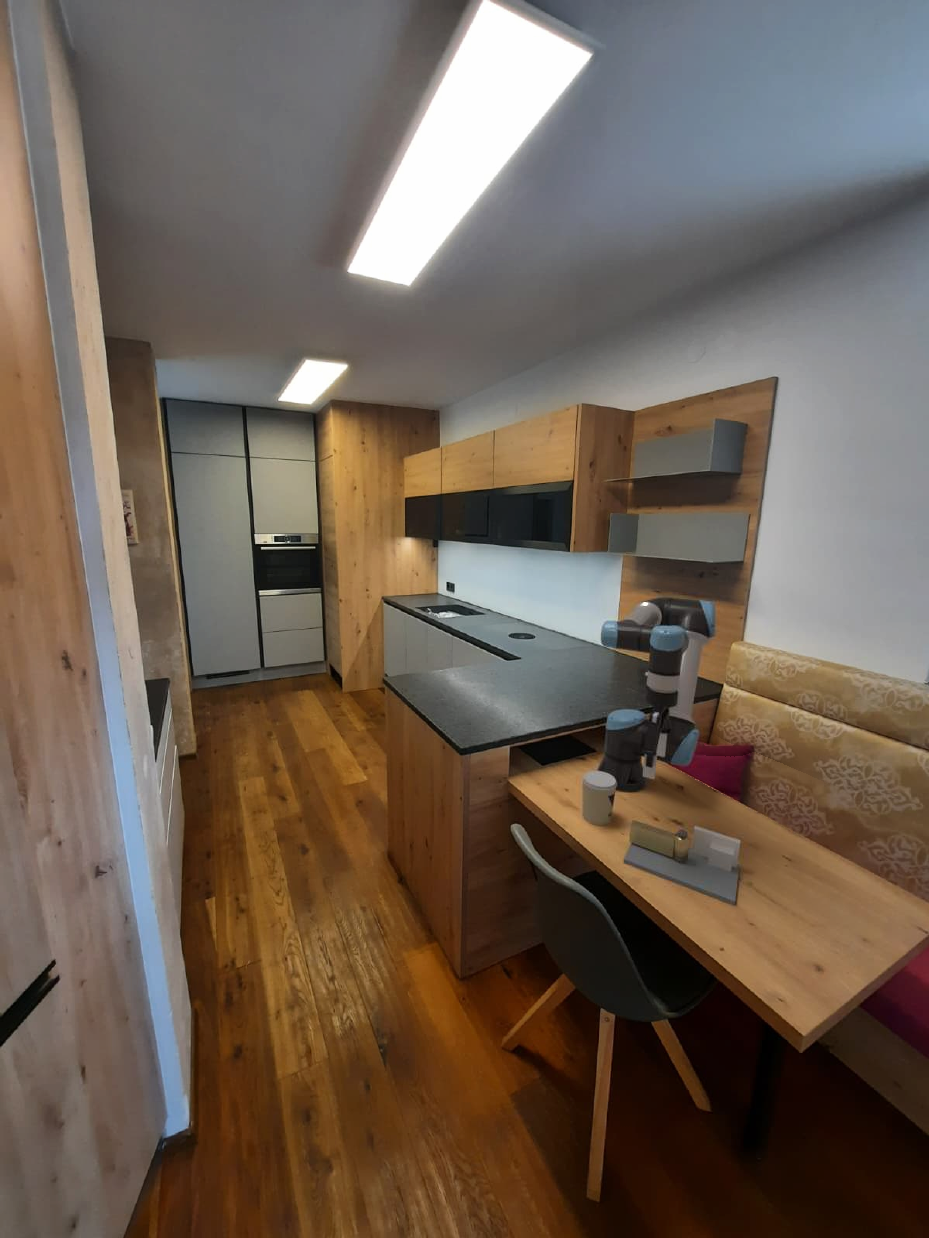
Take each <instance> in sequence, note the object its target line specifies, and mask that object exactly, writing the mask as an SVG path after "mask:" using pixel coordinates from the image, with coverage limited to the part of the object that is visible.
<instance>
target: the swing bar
mask: <svg viewBox="0 0 929 1238" xmlns="http://www.w3.org/2000/svg"><path fill="white" fill-rule="evenodd" d="M691 841H692V840H691V837H690V836H689V835H688V834H687V838H681V837H679V835H678V832H671V831H668V830H665V829H663V828H659V827H656V826H653V825H650V824H648V823H644V822H641V821H638V820H636V819H632V821H631V823H630V828H629V839H628V842H629V843H630V844H631V843H634V844H637V845H639V846H642V847H645V848H648V849H651V850H653V851H656V852H659V853H662V854H664V855H667V856H670V857H673V858H674V859H675V860H677V861H680V862H686V861H688V855H689V848H691Z"/></svg>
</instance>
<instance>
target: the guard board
mask: <svg viewBox="0 0 929 1238" xmlns="http://www.w3.org/2000/svg"><path fill="white" fill-rule="evenodd" d="M677 833H678V835H679V837H681V838H687V835H688V831H687V830H686V829H682V828H681V829H678V832H677ZM691 843H692V846H691V847H690V848H689V855H688V861H686V862H680V861H677V860H675V859H674V858H673V857H670V856H667V855H664V854H662V853H659V852H656V851H653V850H651V849H648V848H645V847H642V846H639V845H637V844H634V843H631V842H630V845H629V847H628V850H627V851H626V853H625V856H624V858H623V863H624V864H626V865H628V866H631V867H634V868H637V869H639V870H642V871H644V872H647V873H650V874H652V875H655V876H657V877H659V878H662V879H664V880H667V881H670V882H673V883H675V884H677V885H681V886H683V887H686V888H688V889H692V890H694V891H696V892H698V893H701V894H704V895H706V896H709V897H711V898H714V899H717V900H719V901H721V902H725V903H727V904H730V905H732V906H735V904H736V898H737V897H736V896H737V889H738V888H737V887H738V881H739V880H738V879H739V871H740V864H739V863H738V861H739V855H740V854H739V853H740V848H741V839H738V838H735V837H731V836H728V835H725V834H722V833H720V832H716V831H713V830H709V829H707V828H703V827H700V826H698V825H694V829H693V836H692V842H691Z"/></svg>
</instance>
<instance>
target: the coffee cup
mask: <svg viewBox="0 0 929 1238" xmlns="http://www.w3.org/2000/svg"><path fill="white" fill-rule="evenodd" d="M581 781H582V817H583V819H584V820H585V821H586V822H588V823H590V824H592V825H595V826H596V825H597V826H605V825H608V824H610V822H611V820H612V813H613V808H614V802H615V796H616V795H615V794H616V791H617V790H616V786H617V782H616V779H615V778H614V777H613V776H612V775H610V774H608V773H606V772H602V771H597V770H589V771H587V772H585V773H583V776H582V780H581Z"/></svg>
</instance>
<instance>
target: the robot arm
mask: <svg viewBox="0 0 929 1238" xmlns="http://www.w3.org/2000/svg"><path fill="white" fill-rule="evenodd" d="M715 607H716V606H715V603H713V601H709V600H703V599H691V598H679V597H671V596H670V597H669V596H664V597H663V596H662V597H655V598H651V599H647V600H644V601H642V602H640V603H638V604H637V605H635V607H634V608H633V610H632V612H631V613H630V614H628V615H627V616H625V617H624V618H623V619H621V620H620V621H618V620H605V621H604V622H603V624H602V626H601V629H600V643H601V645H603V646H604V647H606V648H611V649H613V650H614V649H616V650H625V651H630V652H637V653H638V652H639V653H645V654H649V655H648V664H647V665H648V667H647V672H645V673H644V675H645V677H647V680H646V685H647V686H646V688H645V694H644V695H645V696H644V700H645V702H646V703H647V704H648V705H651V706H652V708H651V709H650V711H649V714H648V715H649V716H648V717H649V718H647V716H646V713H644V711H641V710H638V709H629V708H627V709H624V708H623V709H617V710H613V711H611V712H610V713H609V714H608V715H607V719H606V725H605V736H604V737H605V738H604V748H603V749H604V751H603V756H602V758H601V760H600V762H599V764H598V766H597V769H596V771H602V772H606V773H608V774H610V775H612V776H613V777H614V778H615V779H616V782H617V786H616V790H615V791H619V792H625V793H628V792H629V793H630V792H631V793H634V792H638V791H641V790H642V789H644V787H645V786H646V778H647V779H651V780H655V779H656V768H657V761H660V762H664V763H668V764H670V765H672V766H674V765H676V766H681V767H687V766H689V765H690V764H691V762H692V759H693V757H694V754H695V752H696V749H697V745H698V741H699V736H700V730H699V729H697V728H696V722H695V721H694V720H693V717H692V712H693V707H694V706H693V705H694V701H695V695H696V694H695V693H696V688H697V683H698V682H697V681H698V677H699V676H698V675H699V669H700V665H701V658H702V652H703V647H704V646H705V645H707V644H709V641H710V638H714V637H715V636H716V608H715ZM643 757H644V759H642V758H643ZM642 760H643V762H642Z"/></svg>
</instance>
